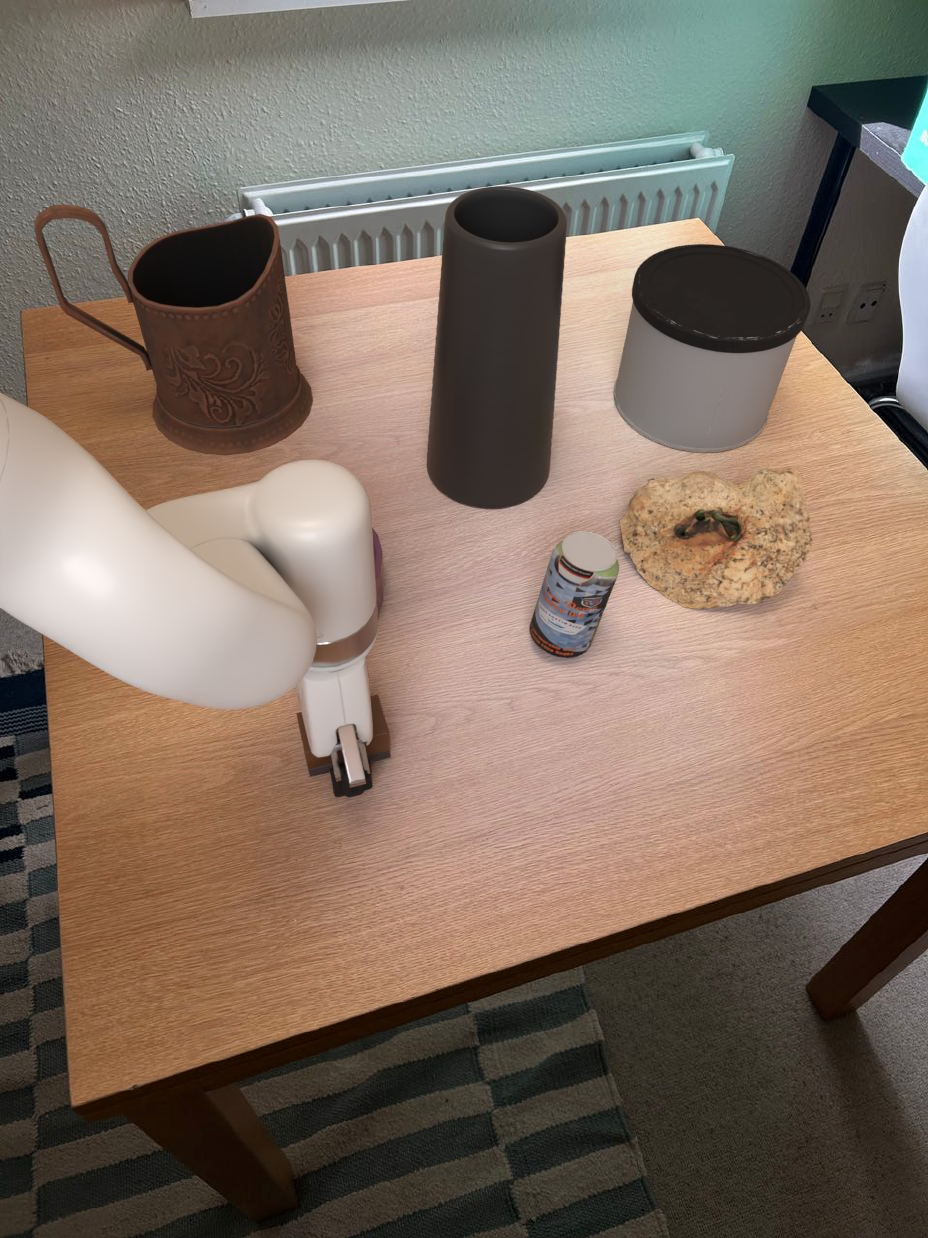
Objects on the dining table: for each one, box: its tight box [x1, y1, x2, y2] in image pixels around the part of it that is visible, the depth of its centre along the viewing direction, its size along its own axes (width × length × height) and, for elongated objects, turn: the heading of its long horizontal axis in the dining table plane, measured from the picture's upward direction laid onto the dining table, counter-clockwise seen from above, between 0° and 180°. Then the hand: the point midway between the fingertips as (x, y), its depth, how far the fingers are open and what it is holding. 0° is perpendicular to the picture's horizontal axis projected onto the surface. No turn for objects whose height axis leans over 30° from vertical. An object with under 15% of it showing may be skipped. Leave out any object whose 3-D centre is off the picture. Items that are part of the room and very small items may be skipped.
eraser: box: [295, 694, 392, 778], centre depth 77 cm, size 7×4×4 cm, turn 107°
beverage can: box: [528, 530, 620, 659], centre depth 83 cm, size 6×7×12 cm
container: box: [613, 243, 811, 453], centre depth 104 cm, size 19×19×15 cm
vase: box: [426, 185, 568, 510], centre depth 90 cm, size 14×14×29 cm
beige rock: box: [619, 466, 814, 610], centre depth 92 cm, size 18×14×8 cm
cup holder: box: [33, 204, 314, 456], centre depth 97 cm, size 18×24×25 cm
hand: (341, 743), depth 78 cm, fingers open, 8 cm apart
